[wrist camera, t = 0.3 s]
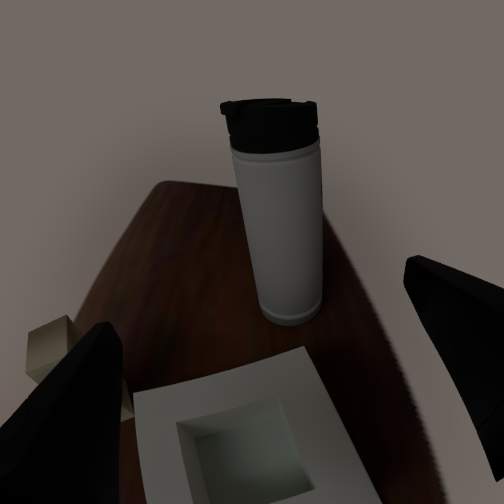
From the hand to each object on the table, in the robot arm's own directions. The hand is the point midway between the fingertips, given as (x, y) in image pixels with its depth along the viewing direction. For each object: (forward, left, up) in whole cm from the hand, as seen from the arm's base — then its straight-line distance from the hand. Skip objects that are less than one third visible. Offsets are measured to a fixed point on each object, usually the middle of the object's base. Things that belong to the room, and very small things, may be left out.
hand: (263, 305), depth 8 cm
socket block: (-1, +3, -17) cm, 17 cm away
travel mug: (+15, -2, -17) cm, 22 cm away
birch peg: (+5, +15, -17) cm, 23 cm away
